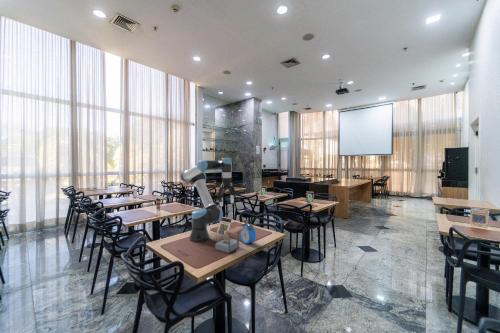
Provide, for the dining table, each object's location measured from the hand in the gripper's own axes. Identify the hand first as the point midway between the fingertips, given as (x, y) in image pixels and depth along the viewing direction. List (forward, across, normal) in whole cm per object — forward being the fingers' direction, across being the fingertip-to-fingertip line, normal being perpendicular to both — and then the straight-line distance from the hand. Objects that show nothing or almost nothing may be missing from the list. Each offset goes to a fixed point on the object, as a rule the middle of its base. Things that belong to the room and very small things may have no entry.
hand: (226, 204), depth 168 cm
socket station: (+29, -11, -11) cm, 33 cm away
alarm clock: (+29, +5, -16) cm, 33 cm away
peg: (+29, -11, -8) cm, 32 cm away
